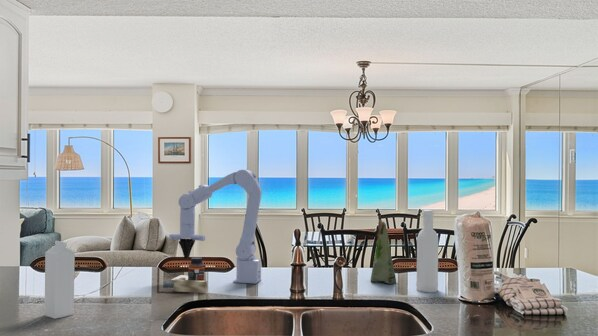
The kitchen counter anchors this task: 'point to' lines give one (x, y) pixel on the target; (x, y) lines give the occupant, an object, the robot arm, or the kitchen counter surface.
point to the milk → (59, 281)
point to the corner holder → (190, 285)
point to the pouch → (383, 258)
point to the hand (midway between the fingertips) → (186, 258)
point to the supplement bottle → (196, 269)
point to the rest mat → (180, 277)
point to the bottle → (427, 255)
